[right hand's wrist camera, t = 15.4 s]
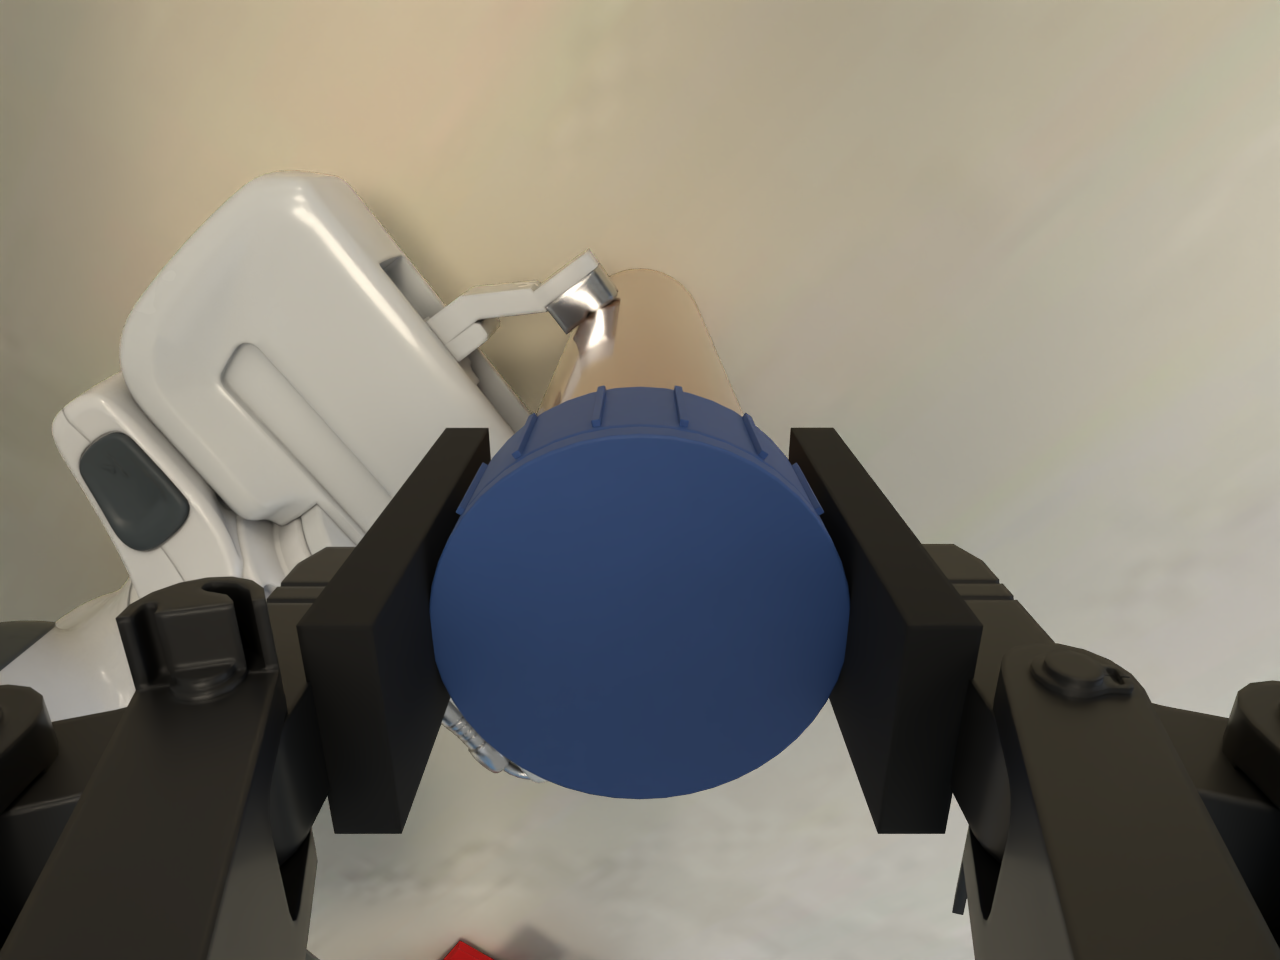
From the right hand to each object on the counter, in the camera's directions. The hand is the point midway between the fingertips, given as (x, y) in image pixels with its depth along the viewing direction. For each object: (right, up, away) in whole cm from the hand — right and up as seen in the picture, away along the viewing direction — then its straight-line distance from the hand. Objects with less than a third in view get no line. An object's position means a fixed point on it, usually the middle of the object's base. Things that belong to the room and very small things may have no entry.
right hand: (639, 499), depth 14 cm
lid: (0, -1, -4) cm, 4 cm away
